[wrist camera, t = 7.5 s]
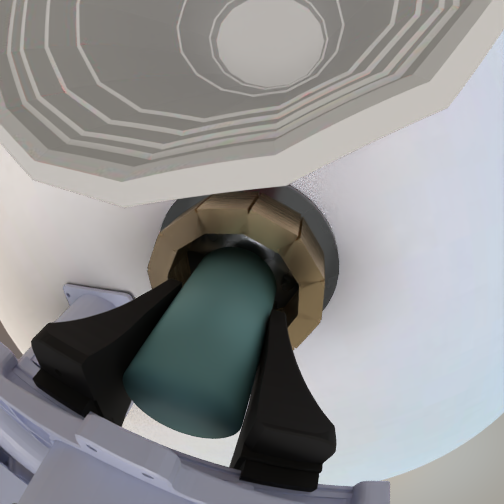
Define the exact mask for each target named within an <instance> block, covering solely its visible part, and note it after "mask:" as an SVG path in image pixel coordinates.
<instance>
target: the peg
mask: <svg viewBox="0 0 504 504" xmlns="http://www.w3.org/2000/svg"><path fill="white" fill-rule="evenodd" d="M276 289H277V285H276V279H275V276H274V273H273V271H272V270H271V268H270V266H269V265H268V264H267V263H266V262H265V261H264V260H263V259H262V258H261V257H259V256H258V255H257V254H255V253H253V252H251V251H249V250H246V249H243V248H239V247H223V248H218V249H215V250H213V251H211V252H210V253H208V254H207V255H206V256H205V257H204V258H203V259H202V261H201V262H200V263H199V265H198V266H197V268H196V269H195V270H194V272H193V273H192V275H191V276H190V277H189V279H188V280H187V282H186V283H185V284H184V286H183V287H182V289H181V290H180V291H179V293H178V294H177V296H176V297H175V299H174V300H173V301H172V303H171V304H170V306H169V307H168V309H167V310H166V312H165V313H164V314H163V316H162V317H161V319H160V320H159V322H158V323H157V325H156V326H155V328H154V329H153V330H152V332H151V333H150V335H149V336H148V338H147V339H146V341H145V342H144V344H143V345H142V347H141V348H140V350H139V351H138V353H137V354H136V356H135V357H134V359H133V360H132V362H131V363H130V365H129V366H128V368H127V369H126V371H125V372H124V375H123V385H124V388H125V390H126V392H127V394H128V395H129V397H130V398H131V400H132V401H133V402H134V403H135V404H136V405H137V406H138V407H139V408H140V409H141V410H142V411H143V412H145V413H146V414H147V415H148V416H150V417H151V418H153V419H154V420H156V421H158V422H159V423H161V424H163V425H165V426H167V427H169V428H171V429H173V430H176V431H178V432H181V433H184V434H187V435H191V436H196V437H201V438H211V439H217V438H225V437H229V436H232V435H234V434H236V433H237V432H238V431H239V430H240V429H241V427H242V424H243V420H244V417H245V413H246V409H247V406H248V402H249V398H250V394H251V391H252V387H253V383H254V379H255V376H256V372H257V368H258V364H259V360H260V356H261V352H262V348H263V344H264V339H265V333H266V329H267V325H268V321H269V316H270V313H271V310H272V308H273V303H274V299H275V295H276Z"/></svg>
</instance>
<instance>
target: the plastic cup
mask: <svg viewBox="0 0 504 504" xmlns="http://www.w3.org/2000/svg"><path fill="white" fill-rule="evenodd" d="M503 29H504V0H0V143H1V145H2V146H3V147H4V148H5V149H6V151H7V152H8V153H9V154H10V155H11V156H12V158H13V159H14V160H15V161H16V162H17V163H18V164H19V165H20V167H21V168H22V169H23V170H24V171H25V172H26V173H27V174H28V175H29V177H30V178H31V179H32V180H34V181H37V182H41V183H44V184H47V185H51V186H54V187H57V188H61V189H64V190H67V191H70V192H74V193H77V194H80V195H84V196H87V197H90V198H94V199H97V200H100V201H103V202H107V203H110V204H113V205H117V206H120V207H123V208H127V207H133V206H138V205H144V204H150V203H156V202H162V201H169V200H175V199H182V198H188V197H195V196H202V195H210V194H217V193H225V192H233V191H242V190H250V189H260V188H269V187H279V186H287V185H289V184H291V183H292V182H294V181H296V180H298V179H300V178H302V177H304V176H306V175H308V174H310V173H312V172H314V171H316V170H318V169H320V168H322V167H323V166H325V165H327V164H329V163H331V162H333V161H335V160H337V159H339V158H341V157H343V156H345V155H347V154H349V153H352V152H354V151H356V150H358V149H360V148H362V147H364V146H366V145H368V144H370V143H372V142H374V141H376V140H378V139H380V138H383V137H385V136H387V135H389V134H391V133H393V132H395V131H398V130H400V129H402V128H404V127H406V126H408V125H411V124H413V123H415V122H417V121H419V120H422V119H424V118H426V117H428V116H431V115H433V114H435V113H437V112H440V111H442V110H444V109H447V108H448V107H449V106H450V104H451V103H452V102H453V100H454V99H455V98H456V96H457V95H458V94H459V92H460V91H461V90H462V88H463V87H464V86H465V84H466V83H467V82H468V80H469V79H470V77H471V76H472V75H473V73H474V72H475V70H476V69H477V68H478V66H479V65H480V63H481V62H482V61H483V59H484V58H485V56H486V55H487V53H488V52H489V50H490V49H491V48H492V46H493V45H494V43H495V42H496V40H497V39H498V37H499V36H500V34H501V32H502V31H503Z"/></svg>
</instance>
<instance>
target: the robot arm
mask: <svg viewBox="0 0 504 504" xmlns="http://www.w3.org/2000/svg"><path fill="white" fill-rule="evenodd" d="M181 289H182V282H181V281H177V280H174V279H171V278H170V279H169V280H167V281H165V282H163V283H162V284H160V285H158V286H157V287H155V288H153V289H152V290H150V291H148V292H146V293H145V294H143V295H141V296H139V297H138V298H136V299H134V300H133V299H132V297H131V296H130V295H129V294H127V293H123V292H116V291H109V290H102V289H96V288H89V287H83V286H77V285H71V284H65V285H64V286H63V290H64V293H65V295H66V298H67V300H68V302H69V305H70V307H69V308H68V309H67V310H66V311H65V312H64V313H63V314H62V315H61V316H60V317H59V318H58V319H57V320H56V321H55V322H54V323H48V324H47V325H46V326H45V327H44V328H43V329H42V330H41V331H40V332H39V333H38V334H37V335H36V336H35V337H34V338H33V339H32V341H31V344H32V346H31V347H30V348H29V349H28V350H27V351H26V353H25V354H24V355H23V356H22V357H21V358H19V359H16V357H15V355H14V354H13V352H12V351H11V350H10V349H9V348H7V347H6V346H5V345H4V344H3V343H1V342H0V504H12V503H18V504H390V482H388V481H363V482H360V483H358V484H356V485H355V486H354V487H351V486H335V485H323V484H318V478H319V473H320V472H321V471H322V465H323V463H324V462H325V461H326V460H327V459H328V458H330V457H331V456H332V455H333V454H334V453H335V451H336V434H335V427H334V425H333V424H332V423H331V421H330V420H329V419H328V418H327V416H326V415H325V414H324V413H323V411H322V410H321V408H320V407H319V406H318V404H317V403H316V401H315V399H314V398H313V396H312V394H311V392H310V391H309V389H308V387H307V385H306V383H305V381H304V379H303V377H302V375H301V372H300V370H299V367H298V365H297V362H296V359H295V356H294V353H293V350H292V346H291V342H290V338H289V333H288V328H287V320H286V314H285V313H284V312H280V311H277V310H273V309H272V310H271V313H270V316H269V321H268V325H267V329H266V333H265V339H264V344H263V348H262V352H261V356H260V360H259V364H258V368H257V372H256V376H255V379H254V383H253V387H252V391H251V396H250V400H249V404H248V408H247V411H246V415H245V418H244V422H243V425H242V428H241V432H240V435H239V438H238V442H237V445H236V448H235V451H234V454H233V457H232V460H231V463H230V467H226V466H222V465H218V464H215V463H212V462H208V461H205V460H202V459H199V458H196V457H193V456H190V455H187V454H184V453H181V452H178V451H176V450H173V449H170V448H168V447H165V446H163V445H160V444H158V443H156V442H153V441H151V440H149V439H146V438H144V437H142V436H140V435H137V434H135V433H133V432H131V431H129V430H126V429H124V428H122V424H123V421H124V419H125V417H126V415H127V414H128V412H129V410H130V408H131V407H132V405H133V403H134V402H133V401H132V400H131V398H130V397H129V395H128V394H127V392H126V390H125V388H124V385H123V375H124V372H125V371H126V369H127V368H128V366H129V365H130V363H131V362H132V360H133V359H134V357H135V356H136V354H137V353H138V351H139V350H140V348H141V347H142V345H143V344H144V342H145V341H146V339H147V338H148V336H149V335H150V333H151V332H152V330H153V329H154V328H155V326H156V325H157V323H158V322H159V320H160V319H161V317H162V316H163V314H164V313H165V312H166V310H167V309H168V307H169V306H170V304H171V303H172V301H173V300H174V299H175V297H176V296H177V294H178V293H179V291H180V290H181Z"/></svg>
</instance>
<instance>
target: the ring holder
mask: <svg viewBox="0 0 504 504" xmlns="http://www.w3.org/2000/svg"><path fill="white" fill-rule="evenodd" d="M223 247H239V248H243V249H246V250H249V251H251V252H253V253H255V254H257V255H258V256H259V257H261V258H262V259H263V260H264V261H265V262H266V263H267V264H268V265H269V266H270V268H271V270H272V271H273V273H274V276H275V279H276V285H277V289H276V295H275V299H274V303H273V308H272V309H273V310H277V311H280V312H284V313H285V314H286V320H287V328H288V333H289V338H290V342H291V346H292V350H294V348H297V347H298V346H299V345H300V344H301V343H302V342H303V341H304V340H305V339H306V338H307V336H308V335H309V334H310V333H311V332H312V331H313V330H314V329H315V328H316V327H317V326H318V324H319V323H320V320H321V318H322V311H323V310H324V308H325V307H326V306H327V304H328V303H329V301H330V299H331V297H332V295H333V293H334V290H335V288H336V285H337V280H338V274H339V258H338V251H337V245H336V241H335V238H334V234H333V232H332V230H331V228H330V226H329V223H328V222H327V220H326V219H325V217H324V216H323V214H322V213H321V211H320V210H319V209H318V208H317V207H316V206H315V204H314V203H313V202H312V201H311V200H309V199H308V198H307V197H306V196H305V195H304V194H303V193H301V192H300V191H298V190H297V189H295V188H294V187H292V186H290V185H287V186H279V187H269V188H260V189H250V190H242V191H233V192H225V193H217V194H210V195H202V196H195V197H188V198H182V199H177V201H176V202H175V203H174V204H173V205H172V207H171V208H170V210H169V211H168V213H167V214H166V217H165V219H164V221H163V223H162V227H161V230H160V234H159V235H158V237H157V240H156V243H155V246H154V249H153V252H152V255H151V258H150V262H149V265H148V275H149V279H150V283H151V287H152V289H153V288H155V287H157V286H158V285H160V284H162V283H163V282H165V281H167V280H169V279H170V278H171V279H174V280H177V281H181V282H182V287H183V286H184V284H185V283H186V282H187V280H188V279H189V277H190V276H191V275H192V273H193V272H194V270H195V269H196V268H197V266H198V265H199V263H200V262H201V261H202V259H203V258H204V257H205V256H206V255H207V254H208V253H210V252H211V251H213V250H215V249H218V248H223Z"/></svg>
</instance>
